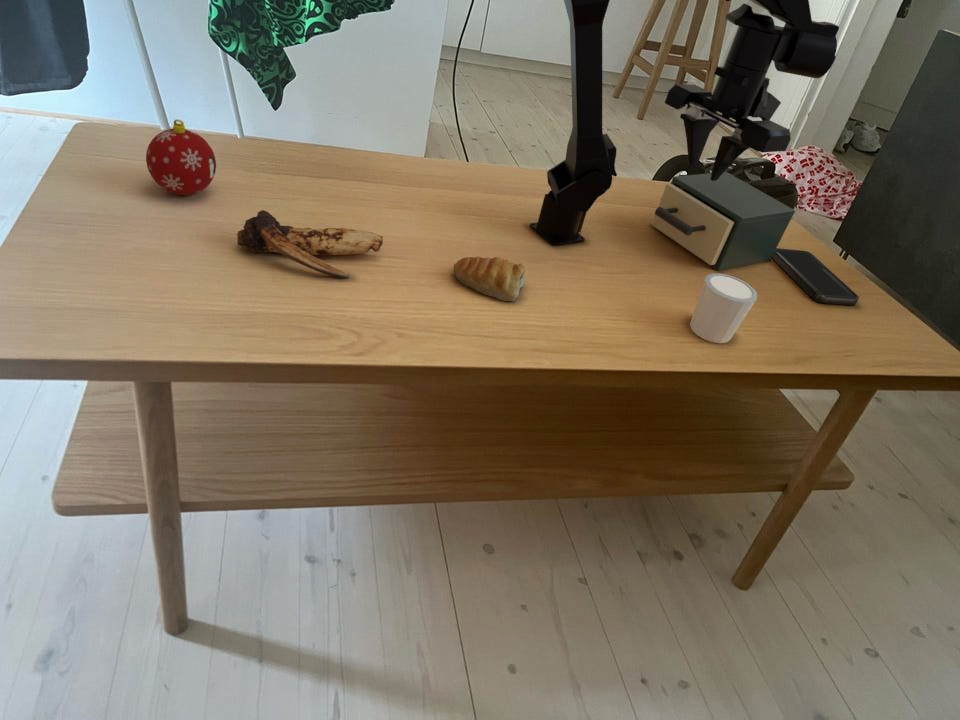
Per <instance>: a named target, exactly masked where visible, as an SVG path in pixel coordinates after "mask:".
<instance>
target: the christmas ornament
mask: <svg viewBox="0 0 960 720" xmlns="http://www.w3.org/2000/svg"><path fill="white" fill-rule="evenodd" d="M177 122H178V123H177ZM172 126H173V127H172V128H168V129H165V130H163V131H161V132H159V133H158V134H156V135H155V136H154V137H153V138H152V140H151V141H150V142H149V144H148V146H147V149H146V155H145V163H146V167H147V171H148V173H149V174H150V176H151V177H152V180H154V182H155V183H156V184H157V185H158V186H159V187H160V188H162V189H163V190H165V191H167V192H169V193H171V194H175V195H177V196H179V195H180V196H192V195H195V194H199V193H200V192H202V191H204V190H205V189H206V188H207V187H209V185H210V184H211V183H212V181H213V180H214V177H215V175H216V171H217V161H216V156H215V152H214V150H213V148H212V147H211V146H210V144H209V142H207V140H205V138H203V137H202V136H201V135H200V134H198V133H196V132H194V131H192V130H190V129H187V128H186V127H185V123H184V121H183V120H181V119H174V120H173V125H172Z"/></svg>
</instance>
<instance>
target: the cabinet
mask: <svg viewBox="0 0 960 720" xmlns="http://www.w3.org/2000/svg"><path fill="white" fill-rule="evenodd" d="M711 173H712V172H710V173H709V172H708V173H700V174H699V173H698V174H697V173H696V174H688V175H687V174H686V175H676V176H672V178H671V182H670V184H673V185H675V186H676V187H678V188H679V187H680V186H681V187H682V188H684V189H686V190H687V191H689V192H690V193H692V194H694V195H695V196H697V197H699V198H700V199H702V200H703V201H705V202H707V203H708V204H710V205H712V206H713V207H715V208H717V209H718V210H720V211H721V212H723V213H725V214H726V215H728V216H730V217H731V218H733V219H734V220H736V222H735V224H734V227H733V229H732V231H731V233H730V235H729V238H728V240H727V242H726V244H725V246H724V248H723V251H722V253H721V255H720V257H719V259H717V261H716V264H714V265H709V264H708V263H706V262H705V261H703V260H702V259H701V258H699V257H698V256H696V255H695V254H693V253H692V252H690V251H689V250H687V249H686V248H685V247H683V246H682V245H680V244H679V243H677V242H676V241H674V240H673V239H671V238H670V237H668V236H667V235H666V234H664V233H663V232H661V231H660V230H658V229H657V228H655V229H656V230H658V231H659V232H661V233H662V234H664V235H665V236H666V237H668V238H669V239H671V240H672V241H674V242H675V243H677V244H678V245H680V246H681V247H683V248H684V249H685V250H687V251H688V252H690V253H691V254H693V255H694V256H696V257H697V258H699V259H700V260H702V261H703V262H704V263H706V264H707V265H709V266H710V267H711V268H713V269H715V270H716V271H717V272H719V271H724V270H730V269H735V268H739V267H744V266H749V265H753V264H758V263H764V262H767V261H771V259H773V258H772V256H773V254H774V252H775V250H776V248H778V246H779V244H780V242H781V240H782V238H783V236H784V234H785V232H786V230H787V228H788V226H789V224H790V222H791V220H792V218H793V217H794V214H795V213H796V209H794V208H792V207H790V206H788V205H786V204H785V203H783V202H781V201H779V200H778V199H776V198H774V197H772V196H770V195H768V194H766V193H765V192H764V191H761V190H760V189H758V188H756V187H754V186H753V185H750V184H749V183H748V182H746V181H743V180H742V179H740V178H738V177H737V176H736V175H733V174H731V173H729V172H727V171H725V172H724V173H723V174H722V175H721V176H720V177H719V178H718V179H717V180H716V181H712V180H711Z"/></svg>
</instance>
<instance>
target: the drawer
mask: <svg viewBox="0 0 960 720" xmlns="http://www.w3.org/2000/svg"><path fill="white" fill-rule="evenodd" d="M735 222H736V220H734V219H733V218H731V217H730V216H728V215H726V214H725V213H723V212H721V211H720V210H718V209H717V208H715V207H713V206H712V205H710V204H708V203H707V202H705V201H703V200H702V199H700V198H699V197H697V196H695V195H694V194H692V193H690V192H689V191H687V190H686V189H684V188H682V187H681V186H680V187H679V188H678V187H676V186H675V185H673V184H671V183H667V184H665V187H664V190H663V193H662V195H661V198H660V201H659V204H658V206H657V208H656V209H655V211H654V216H653V219H652V222H651V226H652V227H654V229H656V228H657V229H656V230H657V231H659V230H660V231H659V232H661V233H662V232H663V233H662V234H664V235H665V234H666V235H667V236H666V235H665V236H666V237H668V238H669V237H670V238H669V239H671V240H672V239H673V240H672V241H673V242H675V241H676V242H675V243H676V244H678V243H679V244H678V245H680V246H681V245H682V246H681V247H682V248H684V247H685V248H686V249H685V248H684V249H685V250H687V251H688V250H689V251H688V252H689V253H691V252H692V253H691V254H693V255H694V254H695V255H694V256H696V257H697V256H698V257H697V258H698V259H700V258H701V259H702V261H703V262H704V261H705V262H704V263H706V264H707V263H708V264H707V265H708V266H710V265H714V264H716V261H717V259H719V257H720V255H721V253H722V251H723V248H724V246H725V244H726V242H727V240H728V238H729V235H730V233H731V231H732V229H733V227H734V224H735ZM701 259H700V260H701Z"/></svg>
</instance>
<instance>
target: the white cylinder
mask: <svg viewBox="0 0 960 720" xmlns="http://www.w3.org/2000/svg"><path fill="white" fill-rule="evenodd" d="M704 278H705V279H704V282H703V284H702V287H701V291H700V293H699V296H698V299H697V302H696V305H695V308H694V311H693V314H692V317H691V320H690V323H689V327H690V329H691V331H692V332H693V333H694V334H695V335H696V336H698V337H699V338H701V339H703V340H706V341H707V342H710V343H715V344H726V343H728V342H730V341H731V339H732V338H733V337H734V335H735V333H736V332H737V330H738V329H739V327H740V325H741V324H742V323H743V321H744V319H745V318H746V316H747V315H748V314H749V312H750V310H751V309H752V307H753V306H754V304H755V302H756V301H757V299H758V293H757V291H756V290H755V288H754V287H753V286H751V285H750V284H749V283H748V282H745V281H744V280H742V279H740V278H738V277H736V276H732V275H730V274H726V273H719V272H718V273H715V272H714V273H710V274H707V275H706V276H705V277H704Z"/></svg>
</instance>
